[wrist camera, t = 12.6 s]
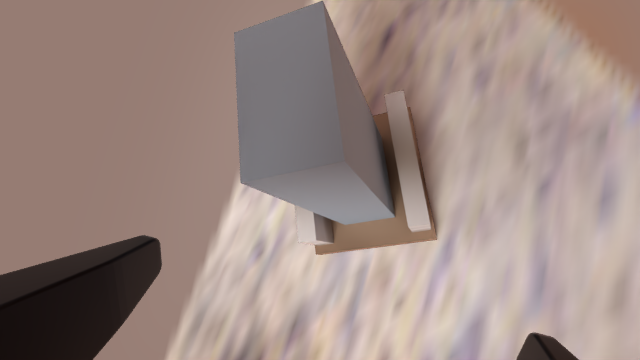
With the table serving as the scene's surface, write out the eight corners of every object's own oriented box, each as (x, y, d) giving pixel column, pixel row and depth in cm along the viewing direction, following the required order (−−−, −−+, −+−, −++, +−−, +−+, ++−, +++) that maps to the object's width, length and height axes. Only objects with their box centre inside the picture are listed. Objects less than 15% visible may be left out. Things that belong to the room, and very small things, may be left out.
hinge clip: (436, 239, 19) (437, 234, 15) (321, 254, 21) (295, 253, 17) (410, 113, 21) (405, 80, 17) (308, 138, 23) (283, 113, 19)
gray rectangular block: (395, 217, 19) (344, 160, 8) (345, 224, 20) (240, 183, 9) (378, 122, 20) (319, -26, 10) (332, 133, 21) (233, 7, 11)
